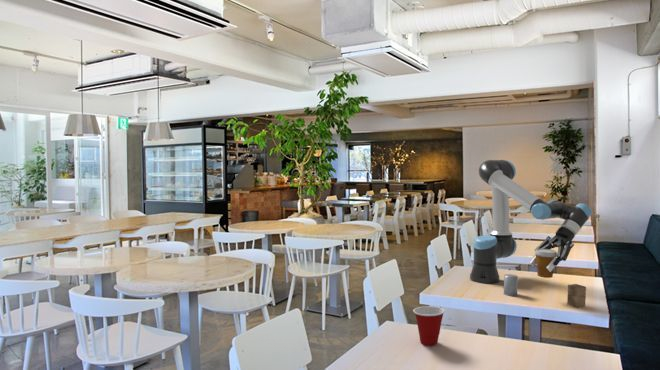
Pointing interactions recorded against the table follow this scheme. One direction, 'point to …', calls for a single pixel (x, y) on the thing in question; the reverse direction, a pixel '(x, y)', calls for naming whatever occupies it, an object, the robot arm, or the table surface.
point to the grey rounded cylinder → (510, 284)
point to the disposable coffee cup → (544, 262)
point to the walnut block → (576, 295)
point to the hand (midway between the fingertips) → (540, 267)
